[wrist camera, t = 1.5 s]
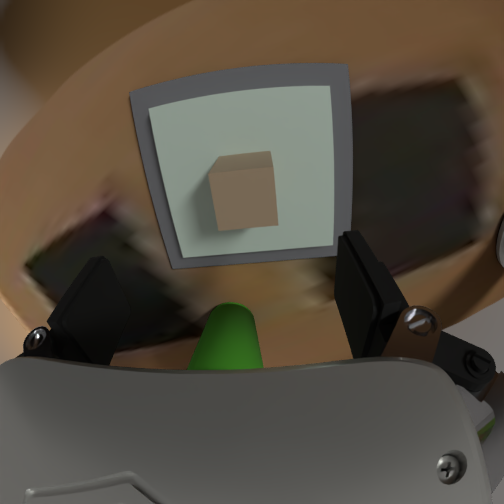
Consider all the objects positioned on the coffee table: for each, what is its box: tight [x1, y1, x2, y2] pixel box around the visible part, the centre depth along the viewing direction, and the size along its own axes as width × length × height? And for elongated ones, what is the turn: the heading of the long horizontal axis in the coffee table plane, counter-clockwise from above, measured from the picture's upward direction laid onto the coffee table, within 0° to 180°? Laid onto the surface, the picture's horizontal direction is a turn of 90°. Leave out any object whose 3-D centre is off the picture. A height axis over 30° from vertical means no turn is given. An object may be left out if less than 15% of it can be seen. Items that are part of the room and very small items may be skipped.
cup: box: [187, 302, 264, 370], centre depth 28 cm, size 9×9×11 cm
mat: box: [129, 63, 353, 269], centre depth 23 cm, size 18×18×1 cm
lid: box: [149, 86, 334, 258], centre depth 20 cm, size 14×14×6 cm
